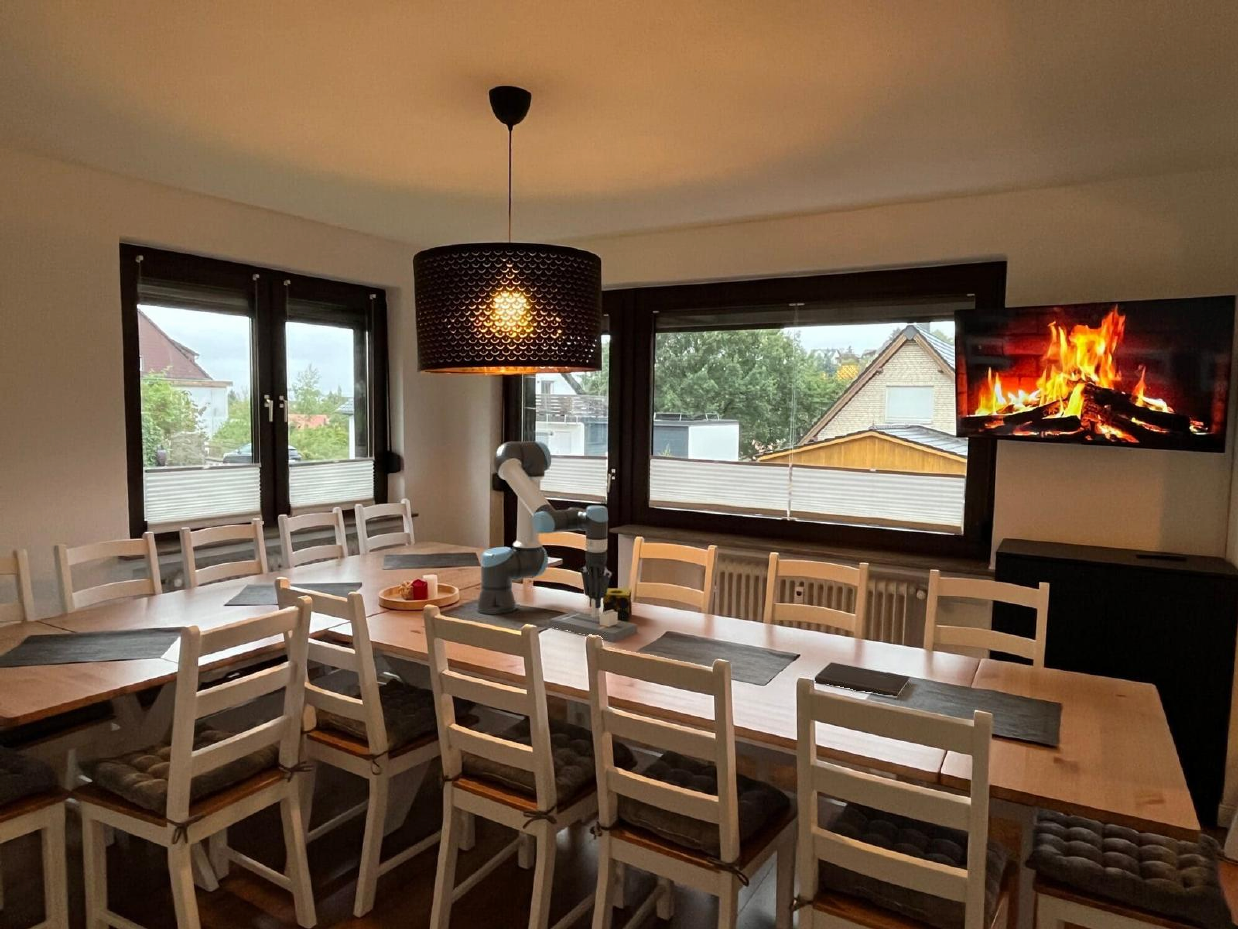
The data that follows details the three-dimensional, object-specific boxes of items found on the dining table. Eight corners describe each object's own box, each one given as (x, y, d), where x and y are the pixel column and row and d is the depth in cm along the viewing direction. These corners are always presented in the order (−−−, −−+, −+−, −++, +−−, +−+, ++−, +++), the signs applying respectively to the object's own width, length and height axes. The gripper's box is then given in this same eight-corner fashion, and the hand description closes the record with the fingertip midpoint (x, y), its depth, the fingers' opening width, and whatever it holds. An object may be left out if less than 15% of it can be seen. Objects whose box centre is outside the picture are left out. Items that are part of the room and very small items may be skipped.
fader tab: (599, 624, 266) (599, 611, 266) (608, 621, 270) (608, 608, 270) (608, 626, 264) (609, 613, 264) (617, 623, 268) (617, 610, 268)
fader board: (549, 627, 274) (549, 618, 274) (574, 619, 285) (574, 610, 285) (613, 642, 258) (613, 633, 257) (637, 632, 269) (637, 624, 269)
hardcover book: (830, 669, 236) (830, 662, 236) (909, 684, 224) (909, 676, 224) (814, 684, 222) (814, 676, 222) (897, 701, 210) (897, 693, 210)
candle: (631, 614, 293) (632, 588, 292) (629, 621, 283) (630, 595, 282) (605, 613, 294) (605, 587, 293) (602, 620, 284) (602, 594, 283)
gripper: (574, 549, 270) (573, 615, 271) (605, 554, 262) (603, 622, 264) (587, 546, 276) (586, 611, 278) (617, 551, 268) (616, 617, 270)
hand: (594, 616), depth 271 cm, fingers closed
